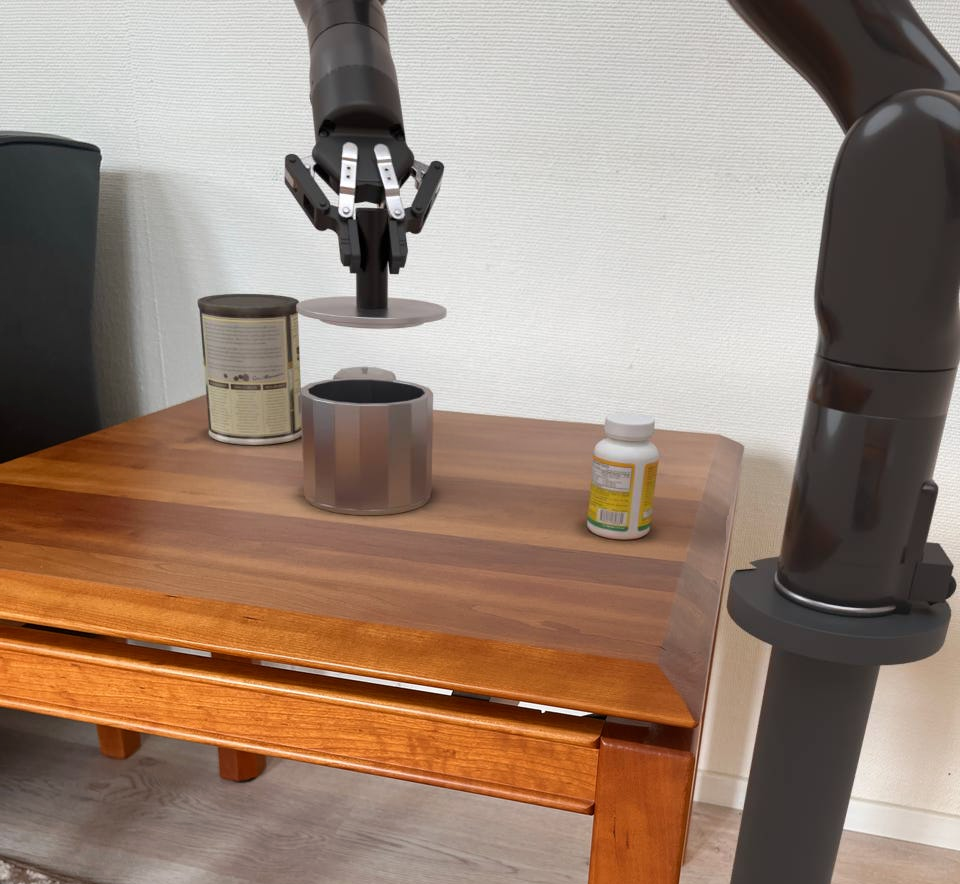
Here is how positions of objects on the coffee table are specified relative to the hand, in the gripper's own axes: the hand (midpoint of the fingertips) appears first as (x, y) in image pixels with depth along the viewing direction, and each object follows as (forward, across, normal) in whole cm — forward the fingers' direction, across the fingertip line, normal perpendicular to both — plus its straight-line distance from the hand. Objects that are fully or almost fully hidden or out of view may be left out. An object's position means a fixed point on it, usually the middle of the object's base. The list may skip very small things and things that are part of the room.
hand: (375, 266), depth 81 cm
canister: (+12, 0, +17) cm, 20 cm away
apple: (-7, +3, +36) cm, 37 cm away
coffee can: (-5, -9, +34) cm, 35 cm away
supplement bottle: (+20, +20, +8) cm, 29 cm away
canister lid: (+1, 0, +4) cm, 4 cm away
